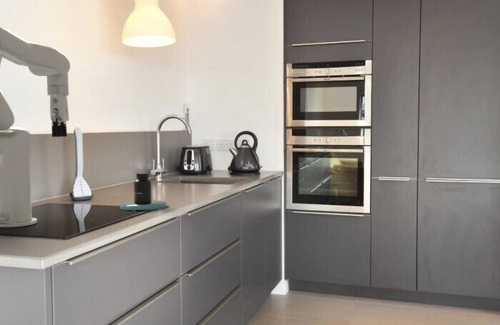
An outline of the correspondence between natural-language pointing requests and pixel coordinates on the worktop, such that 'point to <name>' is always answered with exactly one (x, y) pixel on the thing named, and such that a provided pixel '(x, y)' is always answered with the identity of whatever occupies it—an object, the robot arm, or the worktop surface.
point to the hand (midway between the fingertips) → (59, 136)
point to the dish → (143, 205)
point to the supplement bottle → (142, 189)
